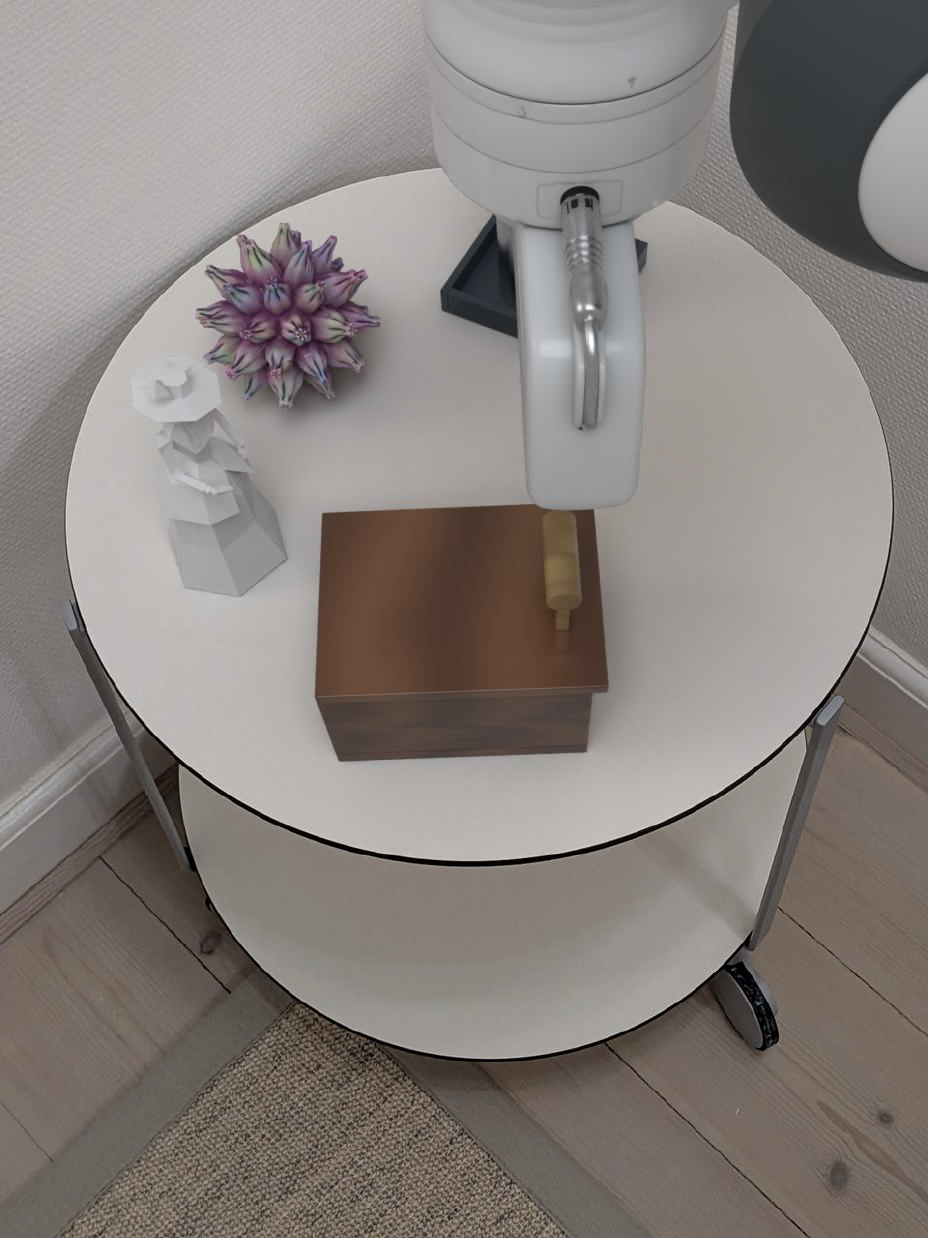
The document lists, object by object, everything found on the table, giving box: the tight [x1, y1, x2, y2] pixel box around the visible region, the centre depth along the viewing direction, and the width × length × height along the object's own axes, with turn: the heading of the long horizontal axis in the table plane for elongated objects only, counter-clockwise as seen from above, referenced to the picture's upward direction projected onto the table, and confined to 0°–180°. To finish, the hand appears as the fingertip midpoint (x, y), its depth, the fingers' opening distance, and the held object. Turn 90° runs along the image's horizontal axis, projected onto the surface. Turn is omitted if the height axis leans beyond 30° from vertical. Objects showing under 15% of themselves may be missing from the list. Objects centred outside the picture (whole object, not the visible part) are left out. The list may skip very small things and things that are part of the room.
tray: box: [439, 213, 649, 339], centre depth 87 cm, size 11×10×2 cm
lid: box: [314, 503, 610, 704], centre depth 65 cm, size 15×11×5 cm
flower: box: [194, 222, 381, 409], centre depth 81 cm, size 12×12×12 cm
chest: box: [316, 693, 594, 762], centre depth 71 cm, size 14×11×8 cm
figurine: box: [130, 355, 288, 598], centre depth 71 cm, size 7×8×18 cm
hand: (561, 374), depth 50 cm, fingers open, 8 cm apart
